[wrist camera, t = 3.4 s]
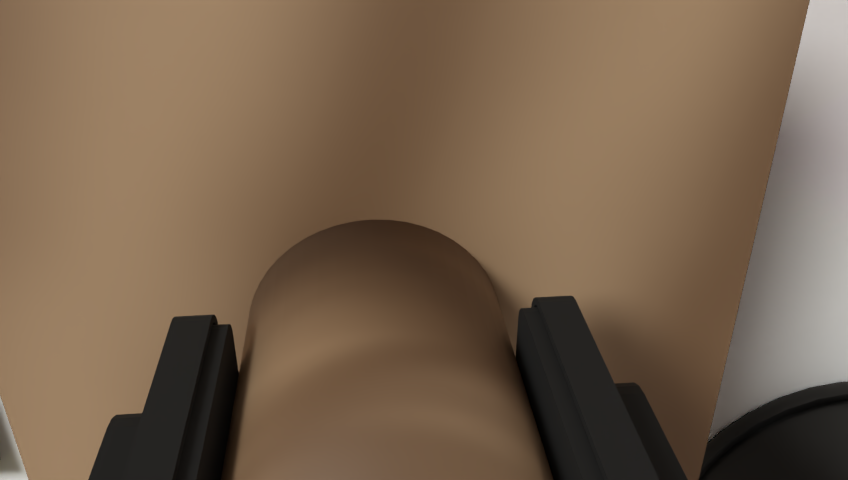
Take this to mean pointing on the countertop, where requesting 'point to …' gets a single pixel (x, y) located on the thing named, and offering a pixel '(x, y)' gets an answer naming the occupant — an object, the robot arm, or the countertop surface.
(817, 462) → the french press
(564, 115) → the lid
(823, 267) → the countertop surface
